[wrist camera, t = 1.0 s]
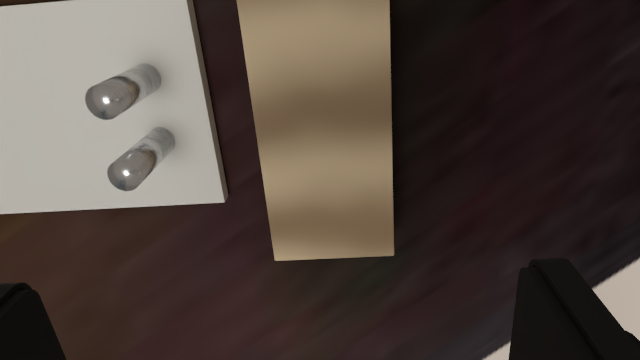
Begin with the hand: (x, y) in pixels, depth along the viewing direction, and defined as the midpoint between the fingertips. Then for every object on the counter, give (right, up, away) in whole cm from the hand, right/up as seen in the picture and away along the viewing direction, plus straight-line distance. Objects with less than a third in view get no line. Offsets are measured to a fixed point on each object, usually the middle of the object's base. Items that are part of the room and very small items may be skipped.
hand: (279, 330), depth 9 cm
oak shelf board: (+1, +8, +17) cm, 19 cm away
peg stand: (-15, +7, +18) cm, 24 cm away
